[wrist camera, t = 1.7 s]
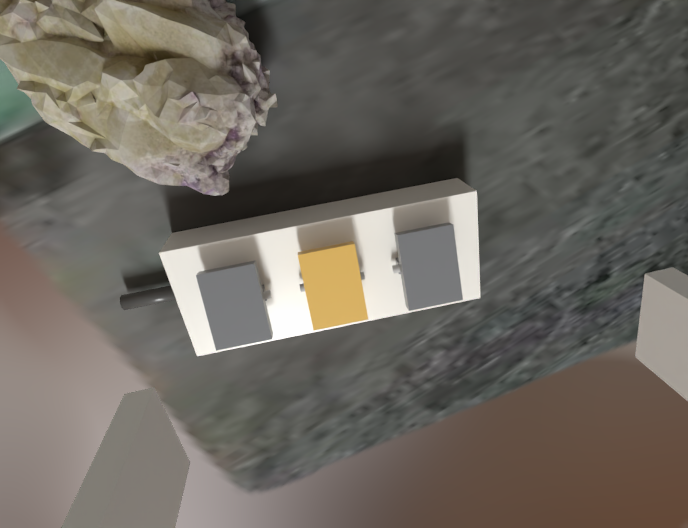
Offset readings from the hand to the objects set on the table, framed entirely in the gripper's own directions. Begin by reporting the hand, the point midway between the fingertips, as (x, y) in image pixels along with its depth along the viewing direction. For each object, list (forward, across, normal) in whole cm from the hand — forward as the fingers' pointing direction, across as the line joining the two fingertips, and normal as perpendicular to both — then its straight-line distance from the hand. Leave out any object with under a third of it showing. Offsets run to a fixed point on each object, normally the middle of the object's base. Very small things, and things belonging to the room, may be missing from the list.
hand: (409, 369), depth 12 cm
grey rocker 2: (+20, +5, -7) cm, 22 cm away
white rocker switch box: (+25, -4, -7) cm, 26 cm away
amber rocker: (+20, -2, -7) cm, 21 cm away
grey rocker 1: (+20, -9, -7) cm, 23 cm away
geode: (+25, -9, +10) cm, 28 cm away
